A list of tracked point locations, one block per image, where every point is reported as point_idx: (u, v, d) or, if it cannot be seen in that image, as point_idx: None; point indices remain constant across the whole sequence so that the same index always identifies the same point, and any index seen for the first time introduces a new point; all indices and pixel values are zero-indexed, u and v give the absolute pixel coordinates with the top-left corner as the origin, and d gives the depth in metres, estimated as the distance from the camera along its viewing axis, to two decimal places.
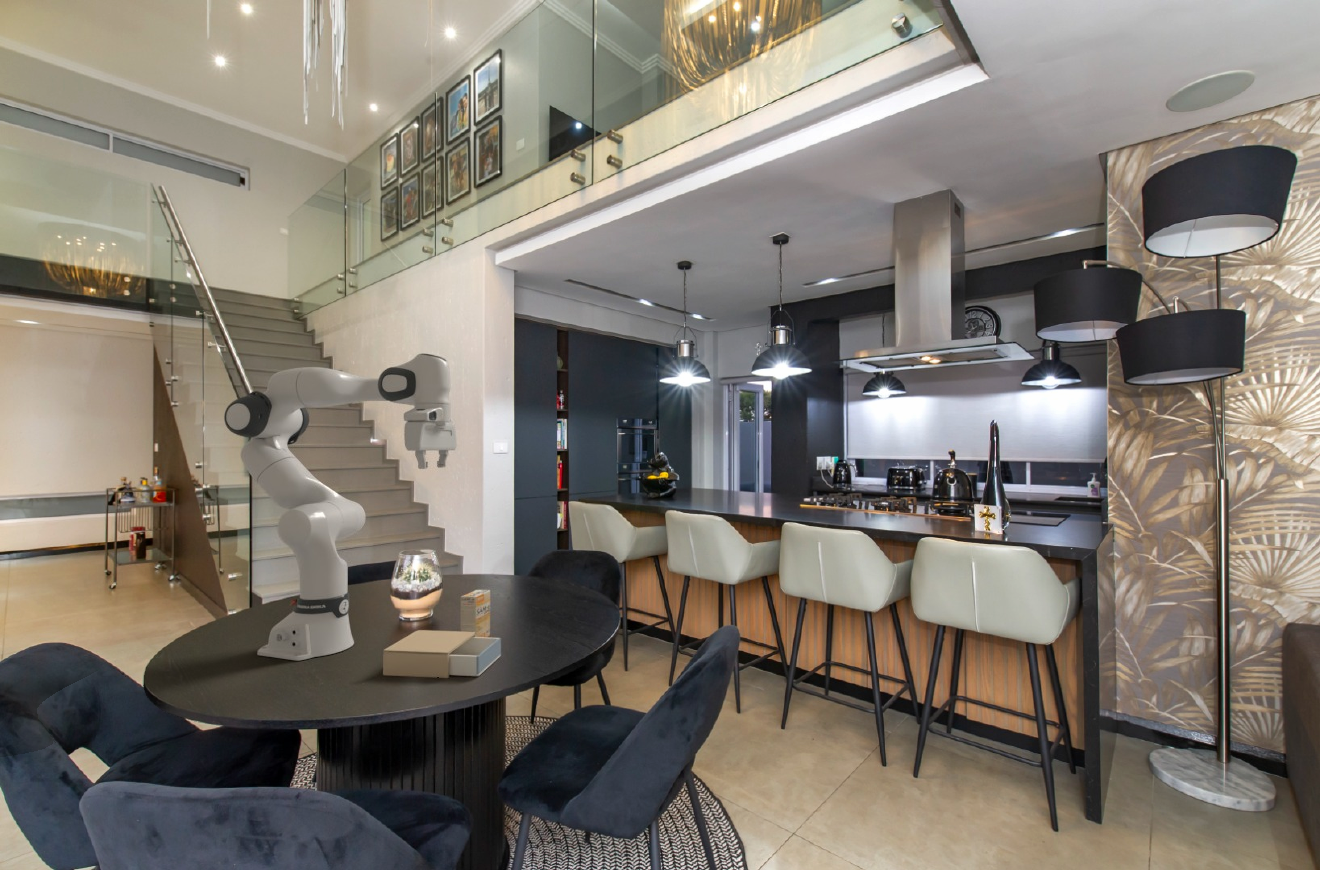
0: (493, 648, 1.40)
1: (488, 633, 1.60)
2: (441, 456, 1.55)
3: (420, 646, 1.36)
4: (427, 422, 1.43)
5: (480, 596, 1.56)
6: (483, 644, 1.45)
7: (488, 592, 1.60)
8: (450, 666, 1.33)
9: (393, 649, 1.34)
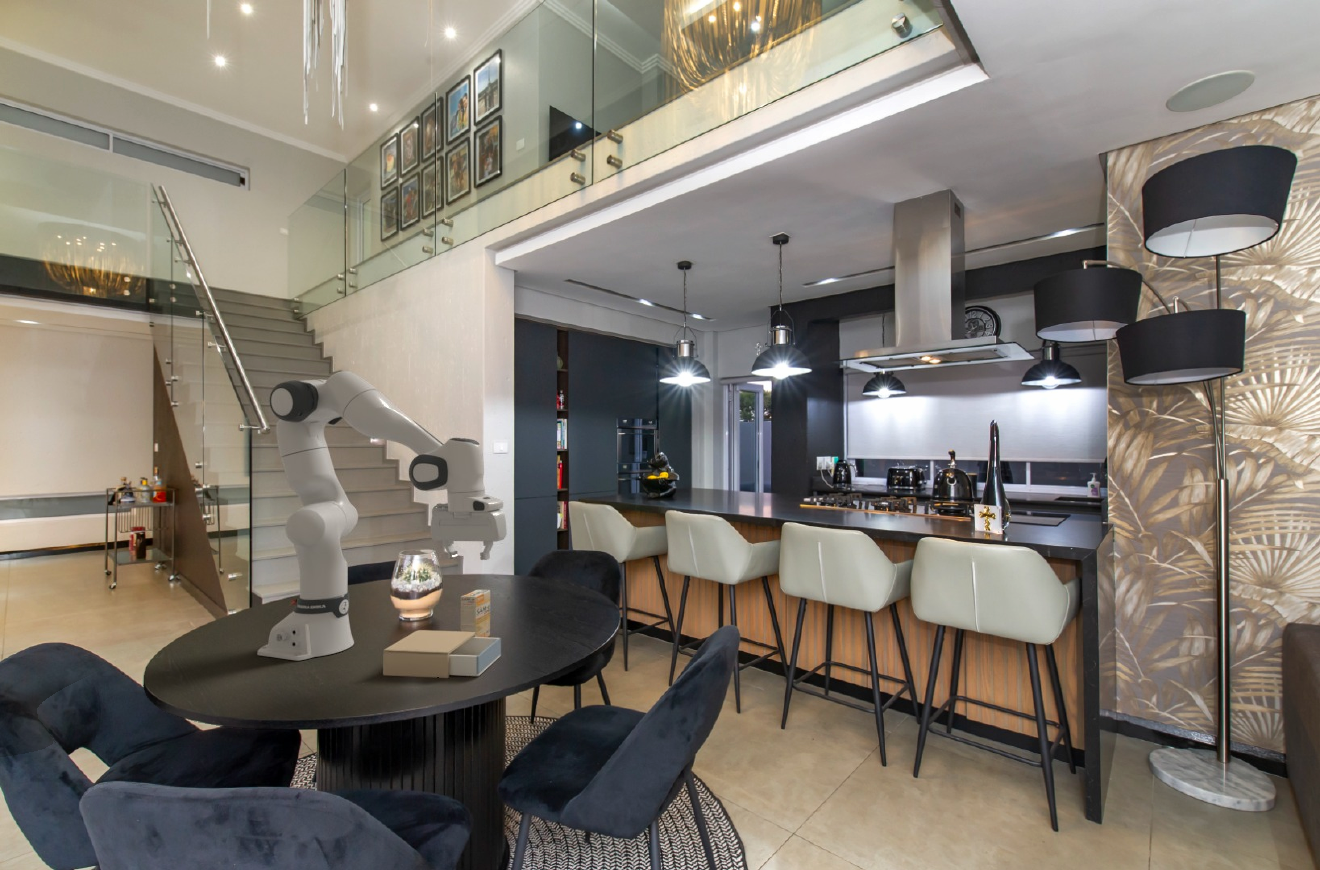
0: (493, 648, 1.40)
1: (488, 633, 1.60)
2: (448, 546, 1.42)
3: (420, 646, 1.36)
4: None
5: (480, 596, 1.56)
6: (483, 644, 1.45)
7: (488, 592, 1.60)
8: (450, 666, 1.33)
9: (393, 649, 1.34)
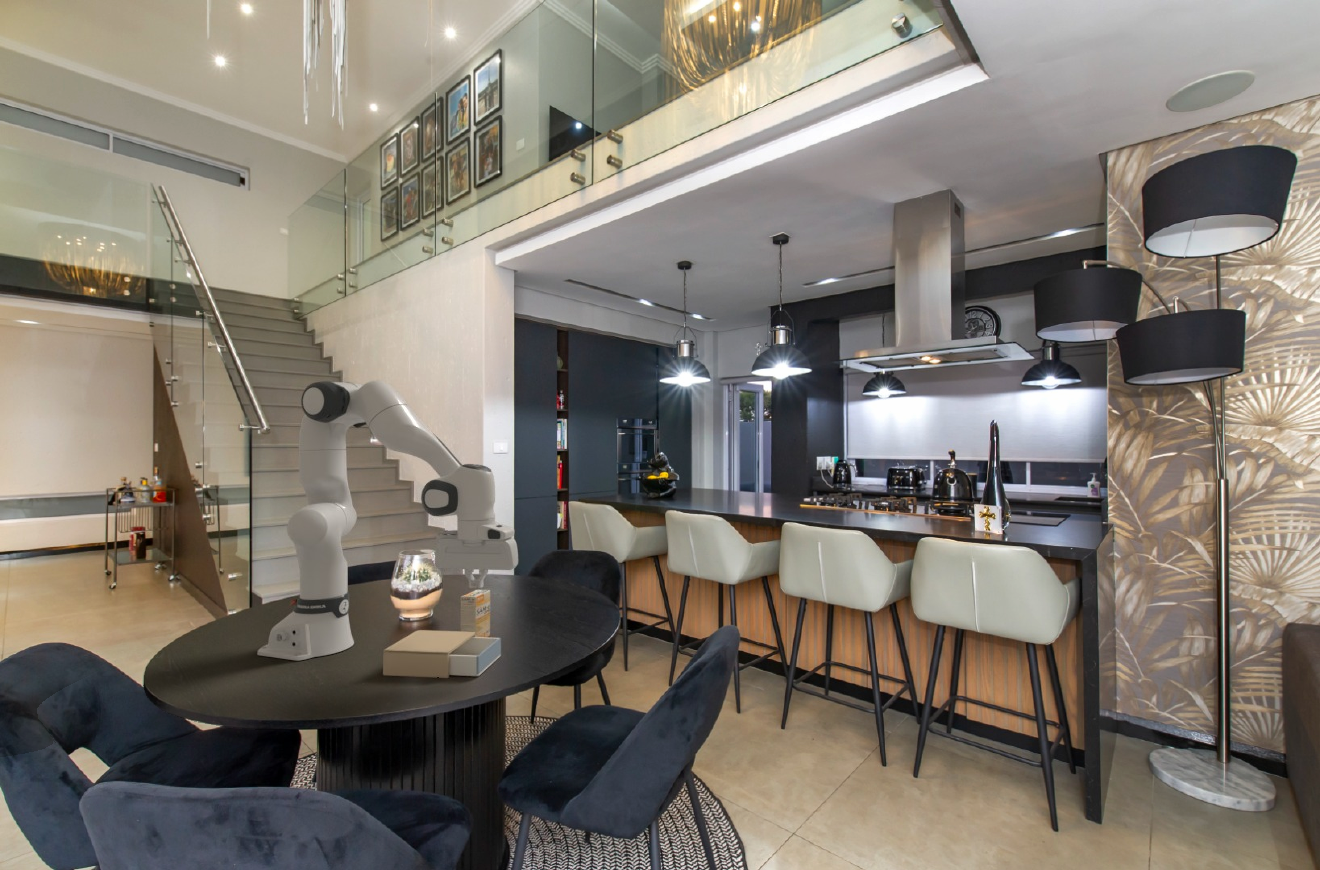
0: (493, 648, 1.40)
1: (488, 633, 1.60)
2: (469, 575, 1.39)
3: (420, 646, 1.36)
4: None
5: (480, 596, 1.56)
6: (483, 644, 1.45)
7: (488, 592, 1.60)
8: (450, 666, 1.33)
9: (393, 649, 1.34)
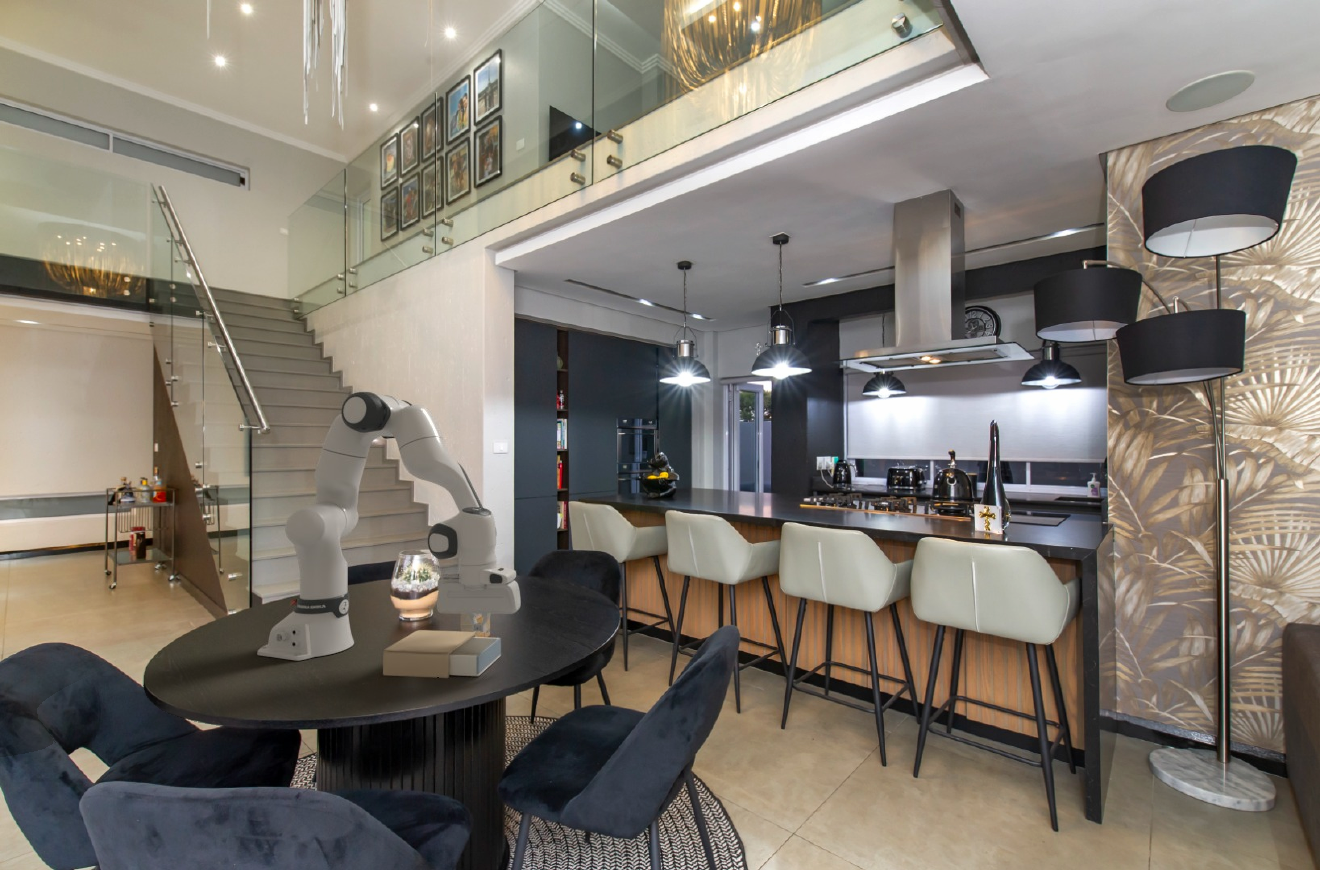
0: (493, 648, 1.40)
1: (488, 633, 1.60)
2: (472, 619, 1.39)
3: (420, 646, 1.36)
4: None
5: None
6: (483, 644, 1.45)
7: None
8: (450, 666, 1.33)
9: (393, 649, 1.34)
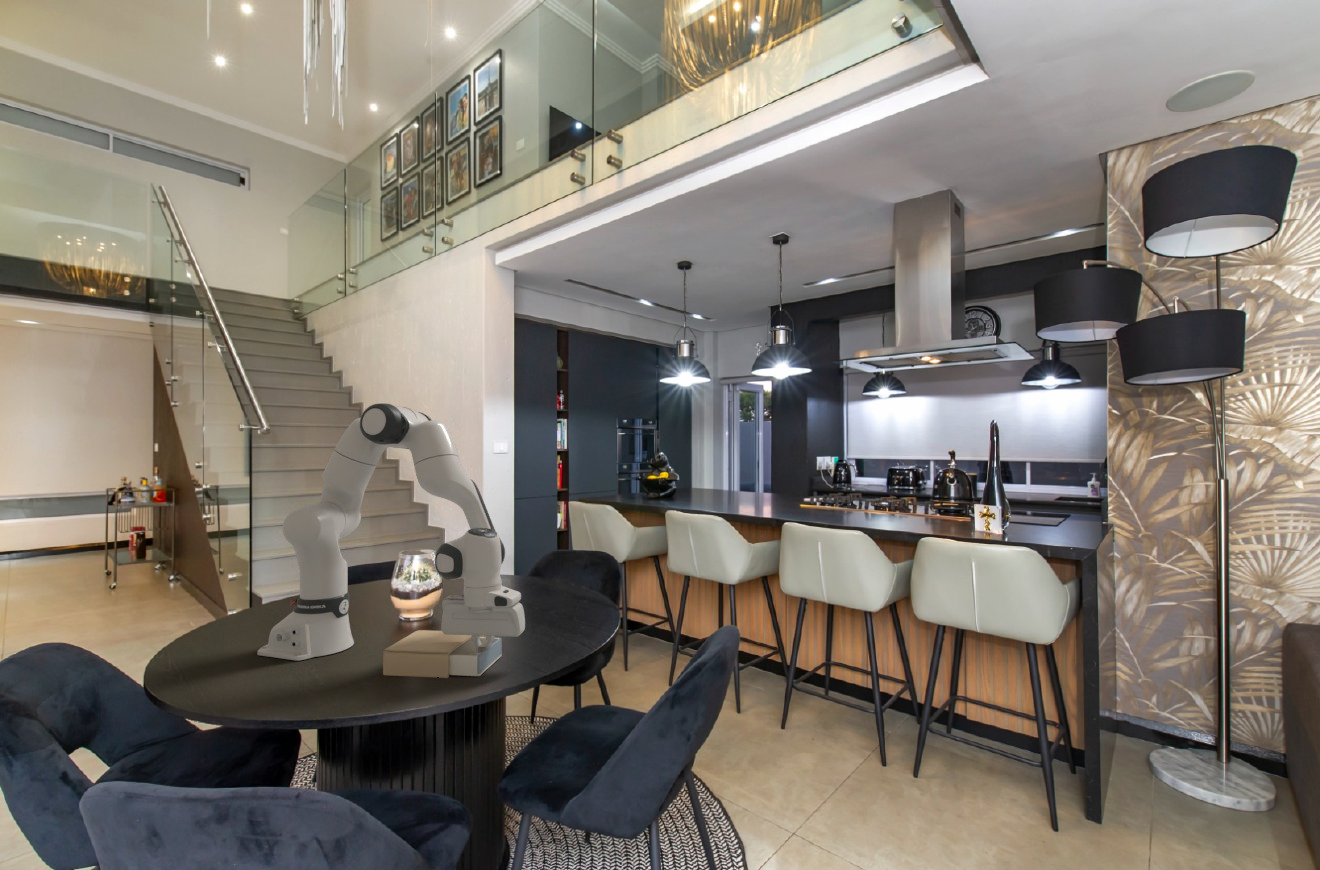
0: (493, 648, 1.40)
1: None
2: (476, 640, 1.39)
3: (420, 646, 1.36)
4: None
5: None
6: None
7: None
8: (451, 666, 1.33)
9: (393, 649, 1.34)
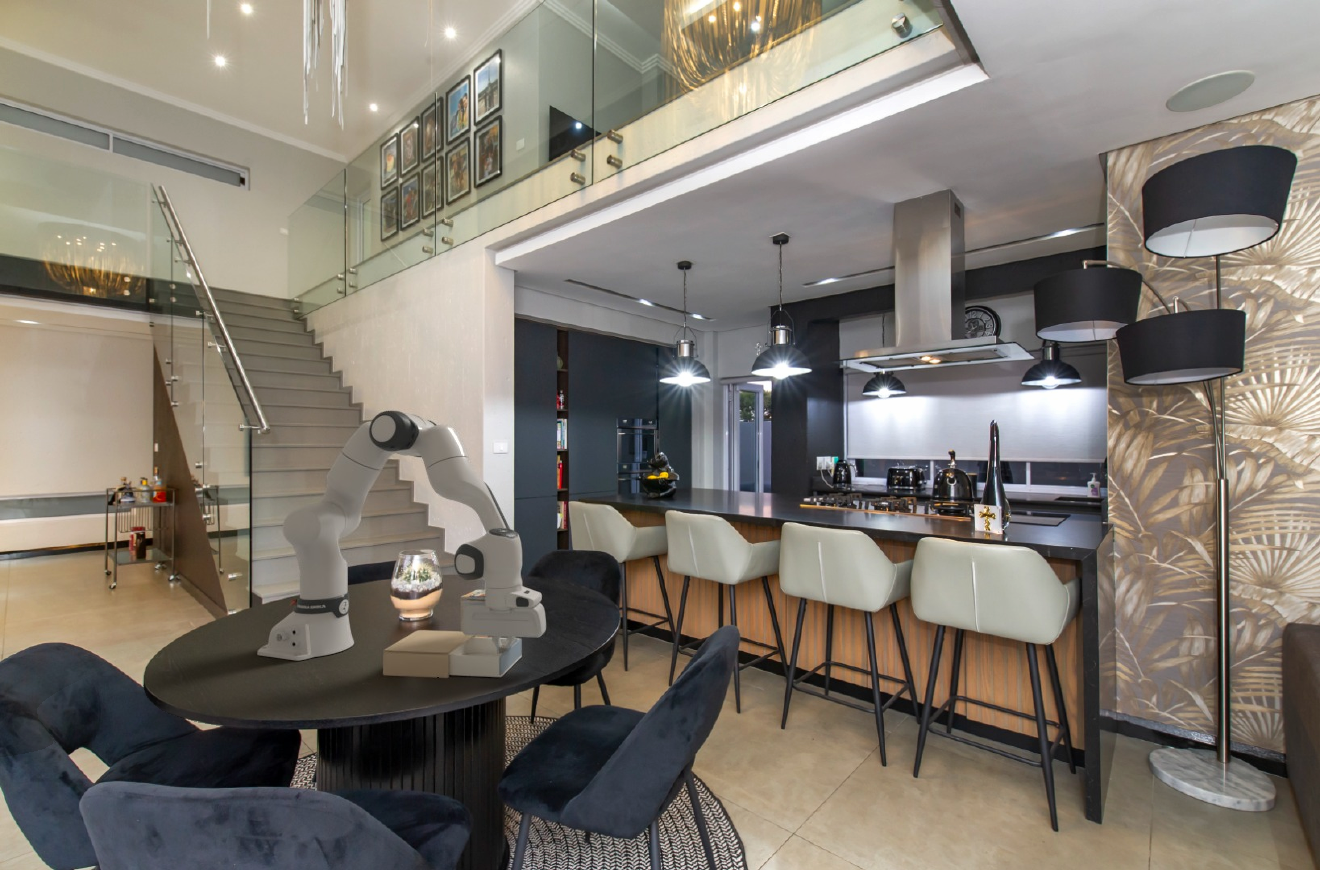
0: (514, 649, 1.40)
1: None
2: (497, 641, 1.38)
3: (420, 646, 1.36)
4: None
5: None
6: None
7: None
8: (472, 667, 1.32)
9: (393, 649, 1.34)
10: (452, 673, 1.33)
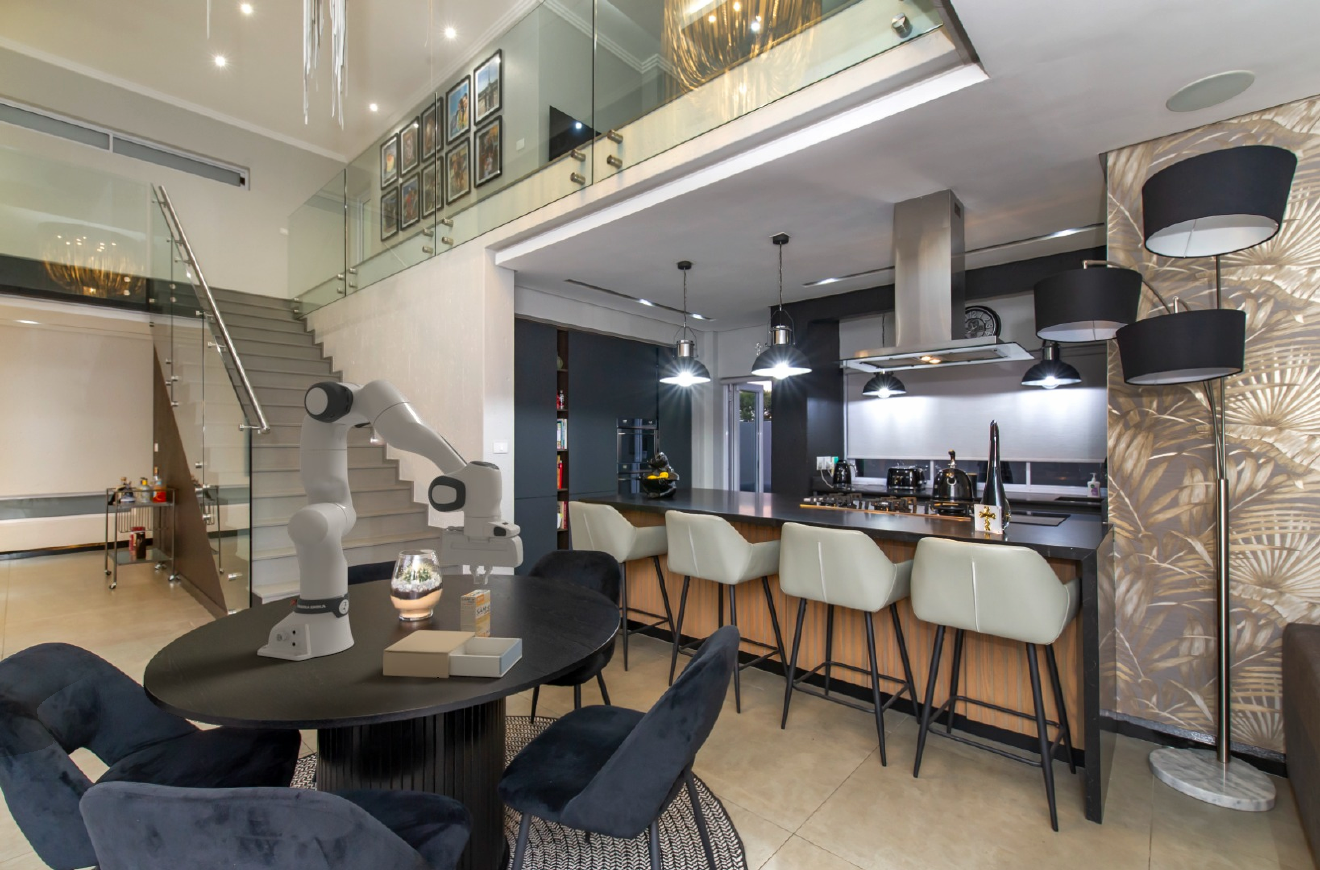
0: (514, 649, 1.40)
1: (488, 633, 1.60)
2: (474, 571, 1.40)
3: (420, 646, 1.36)
4: None
5: (480, 596, 1.56)
6: (504, 645, 1.44)
7: (488, 592, 1.60)
8: (473, 667, 1.32)
9: (393, 649, 1.34)
10: (452, 673, 1.33)
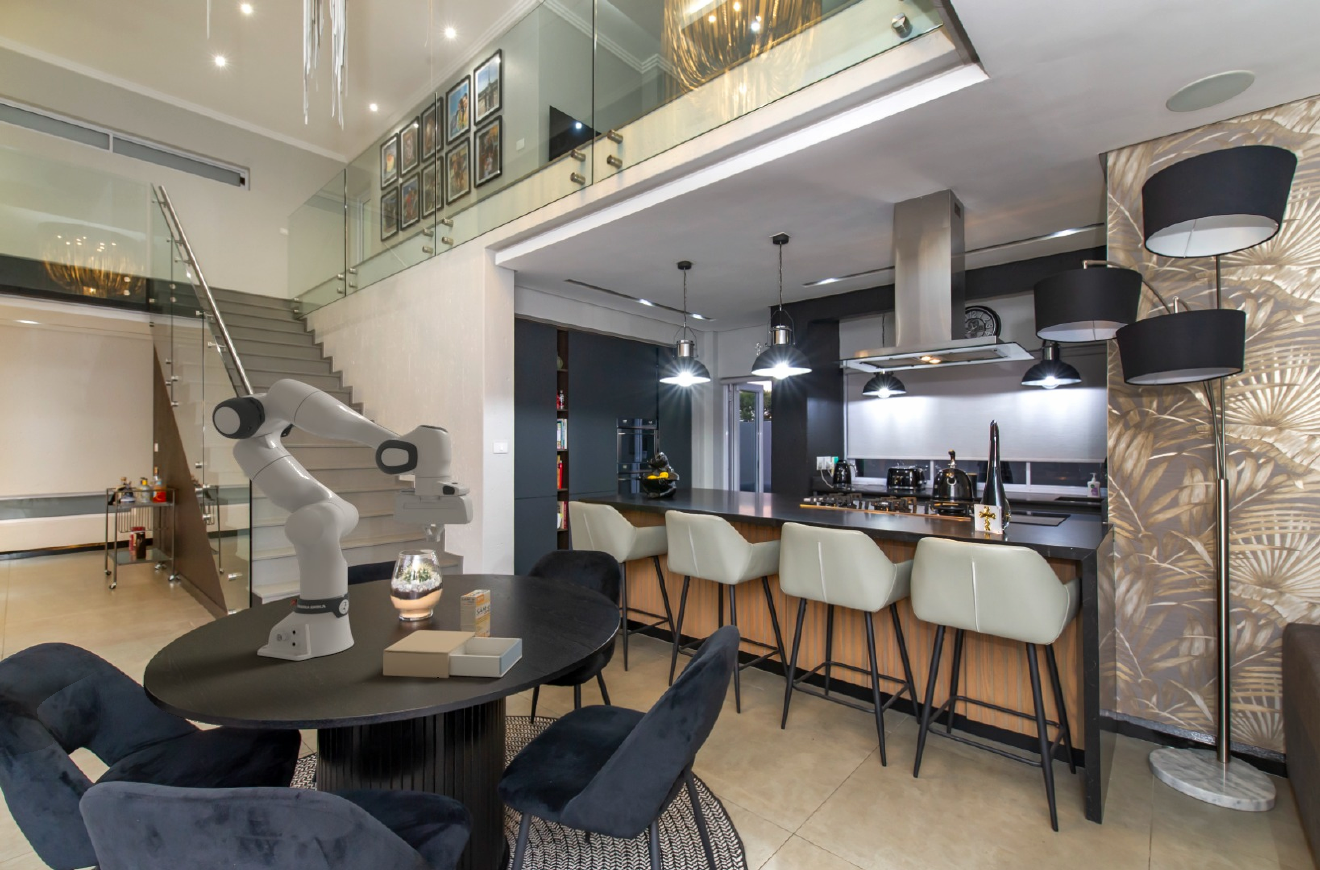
0: (514, 649, 1.40)
1: (488, 633, 1.60)
2: (427, 530, 1.47)
3: (420, 646, 1.36)
4: None
5: (480, 596, 1.56)
6: (504, 645, 1.44)
7: (488, 592, 1.60)
8: (473, 667, 1.32)
9: (393, 649, 1.34)
10: (452, 673, 1.33)
